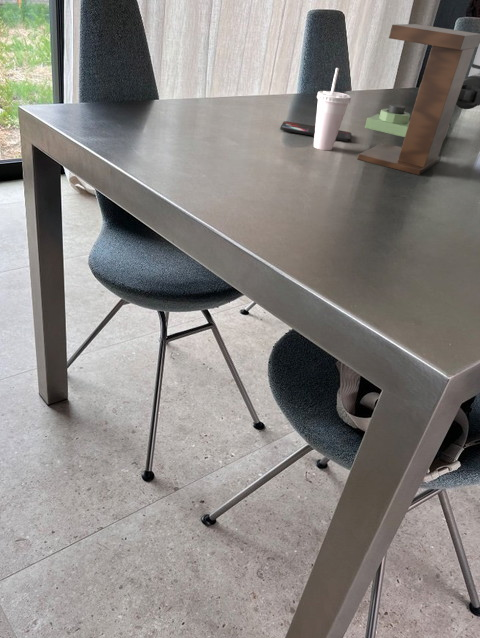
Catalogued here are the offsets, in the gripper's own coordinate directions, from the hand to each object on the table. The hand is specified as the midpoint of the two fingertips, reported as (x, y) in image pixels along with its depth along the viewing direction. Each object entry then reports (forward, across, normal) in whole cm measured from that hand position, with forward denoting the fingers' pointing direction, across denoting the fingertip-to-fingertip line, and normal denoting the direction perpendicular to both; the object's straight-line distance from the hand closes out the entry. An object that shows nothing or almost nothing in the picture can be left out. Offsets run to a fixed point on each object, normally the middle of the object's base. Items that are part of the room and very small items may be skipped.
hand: (453, 100), depth 129 cm
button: (+8, +10, -4) cm, 13 cm away
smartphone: (+28, +20, -8) cm, 36 cm away
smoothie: (+38, +14, -8) cm, 42 cm away
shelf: (+34, 0, -8) cm, 34 cm away
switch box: (+8, +10, -8) cm, 15 cm away
